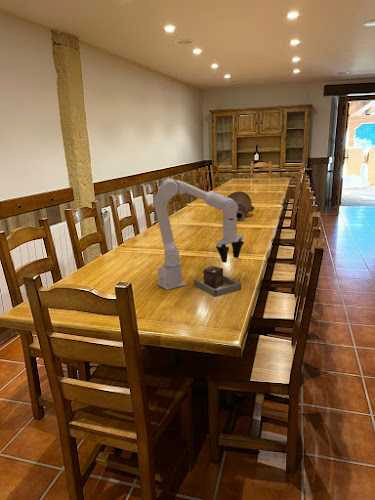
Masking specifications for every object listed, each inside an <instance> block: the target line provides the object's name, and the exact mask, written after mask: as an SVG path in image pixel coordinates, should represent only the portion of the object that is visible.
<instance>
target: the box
mask: <svg viewBox="0 0 375 500" xmlns="http://www.w3.org/2000/svg"><path fill="white" fill-rule="evenodd" d="M202 271H203V283H204V284H206V285H208V286H210V287H212V288H214V289H219V287H221V286H223V285H224V282H223V275H224V268H223V267H218V266H214V265H211V266H208V267H206V268H203V270H202Z"/></svg>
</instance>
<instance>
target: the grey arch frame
mask: <svg viewBox="0 0 375 500" xmlns="http://www.w3.org/2000/svg"><path fill="white" fill-rule="evenodd" d="M224 283H225V284H227V286H224V287H220V288H216V289H214V288H212V287H210V286H208V285H206V284H204V282H202V281H200V280H198V279H197V278H193V285H194V286H195V287H197V288H199V289H201V290H202V291H205V292H206V293H208V294H210V295H212V296H214V297H218V296H219V297H220V296H222V295H226V294H229V293H232V292H233V293H234V292H236V291H239V290H241V289H242V283H241V282H238V281H236V280H234V279H233V278H230V277H228V276H226V275H224V274H223V284H224Z"/></svg>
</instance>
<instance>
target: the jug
mask: <svg viewBox="0 0 375 500" xmlns="http://www.w3.org/2000/svg"><path fill="white" fill-rule="evenodd" d="M227 196H228V198H231V199H233V200H234V201H235V202H236V203H237V205H238V211H237V212H236V213H237V215H236V217H237V220H239V221H240V222H244V221H245V220H246V216H247V215H248V214H249V213H251V212H254V210H255V207H254V206H253V205H252V204H253V203H252V199H251V197H250V195H248V194H247V193H246V192H244V191H234V192H231V194H229V195H227Z"/></svg>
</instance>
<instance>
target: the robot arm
mask: <svg viewBox="0 0 375 500" xmlns="http://www.w3.org/2000/svg"><path fill="white" fill-rule="evenodd" d="M177 194H179V195H182V194H188V195H190V196H194V197H196V198H198V199H200V200H204V203H205V205H207V206H210V207H213V209H214V208H215V209H217V210H219V211H221V210H222V238H221V239H220V240H218V241H216V243H215V244H216V245H215V247H216V250H217V252H218V253H219V256H220V259H221V262H222V263H227V261H228V253H229V249H230V247H229V246H227V245H229V244H231V247H232V256H233V259H234V258H235V259H239V257H240V252H241V250H242V247H243V245H244V243H245V242H244V240H243V239H244V236H243V234H242V235H241V234H238V219H237V217H236V215H237V213H236V212H237V211H238V205H237V203H236V202H235V201H234V200H233V199H231V198H228V196H229V195H222V194H220V193H218V191H217V190H209V191H205V190H202V189H200V188H198V187H196V186H194V185H191V184H189V183H188V182H185V181H182V180H179V179H174V178H172V177H169V178H165V179H164V180H163V181H162V182H161V184H159V188H158V190H157V191H156V195H155V197H154V201H153V205H154V209H155V214H156V218H157V222H158V226H159V230H160V235H161V239H162V244H163V249H164V253H163V254H164V262H163V265H162V266H159V267H158V268H157V279H158V283H157V285H158V286H159V287H160V288H162V289H165V290H166V291H168V290H172V289H175V288H180V287H184V286H186V285H187V283H185V282H184V281H183V279H182V277H183V275H182V274H183V273H182V262H181V258H180V251H179V249H178V248H177V246H176V242H175V239H174V235H173V230H172V227H171V221H170V217H169V212H168V209H167V208H168V207H167V204H168V202H170V200H171V198H173V197H175V196H176V195H177Z"/></svg>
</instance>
